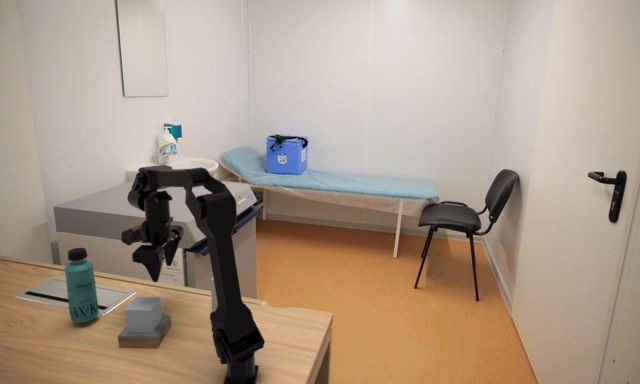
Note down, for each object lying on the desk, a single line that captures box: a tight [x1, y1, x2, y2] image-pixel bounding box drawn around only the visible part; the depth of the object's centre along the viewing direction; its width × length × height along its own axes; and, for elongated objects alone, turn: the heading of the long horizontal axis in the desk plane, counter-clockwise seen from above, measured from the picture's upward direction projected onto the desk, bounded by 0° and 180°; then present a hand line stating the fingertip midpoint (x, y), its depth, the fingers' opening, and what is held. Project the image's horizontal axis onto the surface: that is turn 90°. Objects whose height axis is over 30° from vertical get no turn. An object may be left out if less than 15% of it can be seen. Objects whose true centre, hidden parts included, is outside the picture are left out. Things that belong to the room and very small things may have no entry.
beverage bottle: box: [63, 247, 100, 324], centre depth 101 cm, size 6×7×20 cm
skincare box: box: [210, 277, 218, 313], centre depth 106 cm, size 6×4×12 cm
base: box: [117, 314, 172, 349], centre depth 97 cm, size 9×9×3 cm
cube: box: [124, 296, 163, 333], centre depth 96 cm, size 6×6×6 cm
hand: (162, 273), depth 102 cm, fingers open, 9 cm apart
